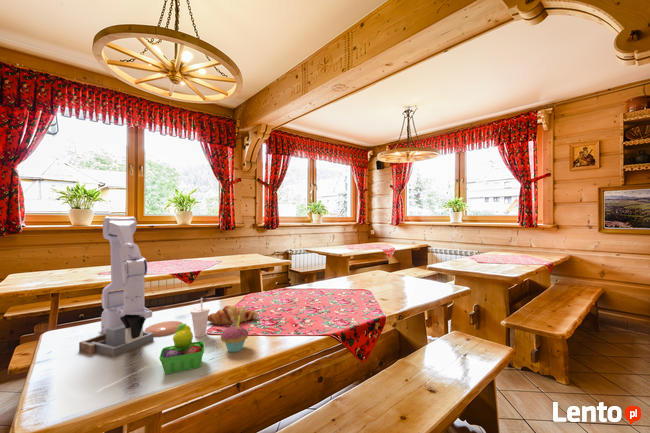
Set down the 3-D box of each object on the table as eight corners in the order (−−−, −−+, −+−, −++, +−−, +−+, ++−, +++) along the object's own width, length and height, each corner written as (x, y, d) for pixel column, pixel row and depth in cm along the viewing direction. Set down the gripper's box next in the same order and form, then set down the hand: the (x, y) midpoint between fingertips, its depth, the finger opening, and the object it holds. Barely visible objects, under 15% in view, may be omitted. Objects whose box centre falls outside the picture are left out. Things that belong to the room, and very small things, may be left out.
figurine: (242, 335, 103) (241, 318, 104) (229, 337, 101) (228, 320, 102) (241, 332, 108) (240, 316, 109) (229, 334, 106) (228, 318, 107)
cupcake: (253, 345, 95) (253, 309, 95) (237, 357, 87) (237, 318, 87) (232, 341, 98) (232, 307, 98) (215, 352, 90) (215, 315, 90)
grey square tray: (88, 350, 92) (88, 328, 92) (129, 334, 104) (129, 315, 104) (114, 357, 87) (114, 334, 87) (153, 340, 99) (153, 320, 99)
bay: (79, 351, 91) (79, 342, 91) (128, 333, 106) (128, 325, 106) (91, 355, 89) (91, 345, 89) (140, 335, 103) (140, 327, 103)
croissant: (257, 324, 124) (257, 306, 127) (258, 320, 115) (258, 301, 119) (205, 328, 118) (207, 309, 122) (202, 325, 109) (204, 304, 113)
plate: (136, 334, 105) (136, 330, 105) (167, 322, 117) (167, 319, 117) (161, 339, 100) (161, 336, 100) (190, 326, 112) (190, 323, 112)
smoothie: (202, 340, 100) (202, 300, 100) (186, 338, 101) (186, 299, 101) (213, 333, 106) (213, 295, 106) (198, 331, 107) (198, 294, 107)
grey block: (105, 346, 95) (105, 328, 95) (119, 341, 99) (119, 324, 99) (114, 348, 93) (114, 330, 93) (127, 343, 97) (127, 325, 98)
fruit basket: (158, 378, 76) (158, 336, 76) (162, 362, 84) (163, 324, 84) (204, 368, 80) (204, 329, 81) (204, 355, 89) (204, 319, 89)
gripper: (107, 296, 92) (106, 338, 92) (137, 301, 87) (136, 345, 87) (129, 291, 99) (128, 330, 99) (158, 295, 93) (158, 336, 93)
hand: (134, 337), depth 93 cm, fingers closed on grey square tray
